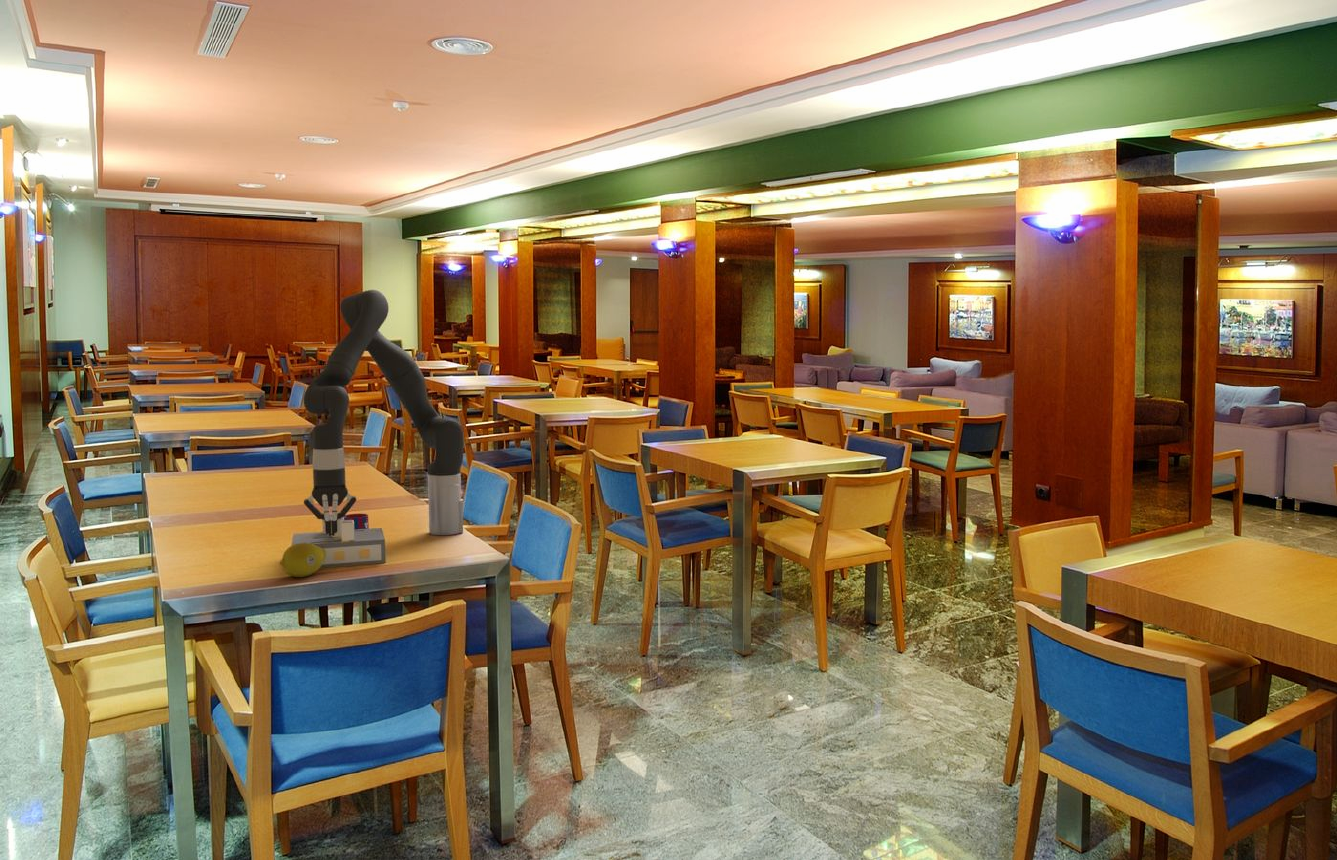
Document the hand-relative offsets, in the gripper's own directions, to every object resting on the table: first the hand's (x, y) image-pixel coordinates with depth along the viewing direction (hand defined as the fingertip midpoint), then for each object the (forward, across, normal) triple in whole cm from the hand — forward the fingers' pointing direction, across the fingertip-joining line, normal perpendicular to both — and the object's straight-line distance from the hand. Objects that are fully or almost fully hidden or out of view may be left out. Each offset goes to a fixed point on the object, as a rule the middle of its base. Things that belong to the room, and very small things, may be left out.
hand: (331, 535), depth 243 cm
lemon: (+8, +6, +9) cm, 14 cm away
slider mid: (+2, -2, -5) cm, 6 cm away
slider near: (+2, -4, 0) cm, 4 cm away
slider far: (+2, +1, -11) cm, 11 cm away
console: (+8, -2, -5) cm, 9 cm away
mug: (+8, -5, -30) cm, 31 cm away
